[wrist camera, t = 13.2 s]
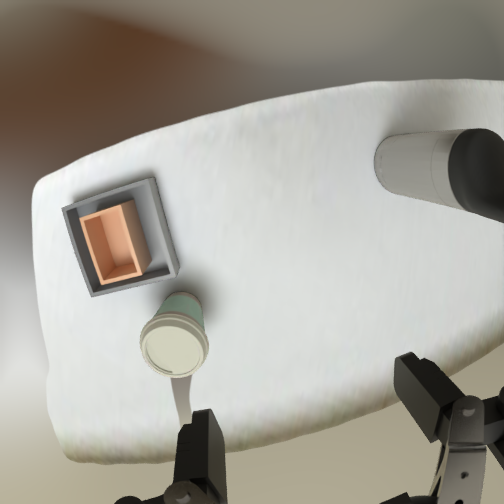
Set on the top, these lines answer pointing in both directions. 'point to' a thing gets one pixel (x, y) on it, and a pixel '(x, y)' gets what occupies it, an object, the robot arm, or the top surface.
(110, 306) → the top surface
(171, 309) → the coffee cup
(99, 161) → the top surface
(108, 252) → the small crate
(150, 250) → the big crate
